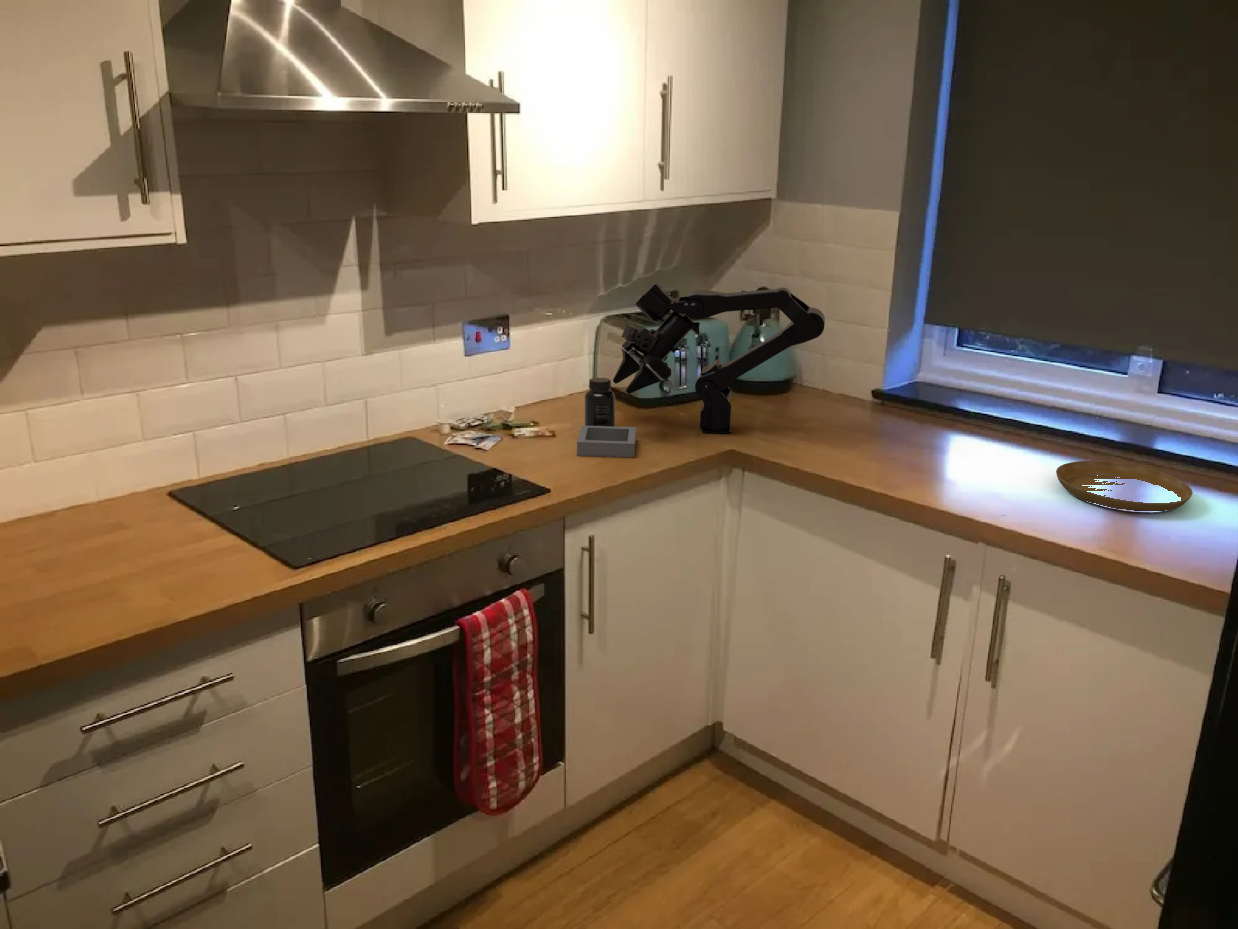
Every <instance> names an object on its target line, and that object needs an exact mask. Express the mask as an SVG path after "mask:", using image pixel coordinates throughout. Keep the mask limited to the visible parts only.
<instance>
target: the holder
mask: <svg viewBox="0 0 1238 929" xmlns="http://www.w3.org/2000/svg"><path fill="white" fill-rule="evenodd" d="M636 443H637V427H636V426H615V427H614V426H585V425H581V427H580V430H579V434H578V438H577V442H576V456H579V457H581V456H582V457H584V456H585V457H604V456H606V458H607V457H608V458H610V457H611V458H635V452H636ZM614 456H615V457H614Z"/></svg>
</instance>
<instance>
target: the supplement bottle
mask: <svg viewBox="0 0 1238 929" xmlns="http://www.w3.org/2000/svg"><path fill="white" fill-rule="evenodd" d="M588 383H589V384H588V389H589V390H588V391H586V392H585V394H584V426H614V427H616V394H615V393H614V392H613V391H612V390H611V388H612V385H611V384H612V382H611V379H610V378H609V377H608V378H607V377H593V378H590V379H589V380H588Z"/></svg>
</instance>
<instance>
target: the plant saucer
mask: <svg viewBox="0 0 1238 929" xmlns="http://www.w3.org/2000/svg"><path fill="white" fill-rule="evenodd" d="M1055 474H1056V477H1057V480H1058V481H1059V483H1060V484H1061V486H1062V487H1063V488H1064V489H1065V491H1067V492H1068V493H1069V492H1070V493H1069V494H1071V495H1072V494H1073V495H1074V496H1073V495H1072V496H1073V497H1075V496H1076V497H1075V498H1077V497H1079V498H1080V499H1079V498H1078V499H1079V500H1081V499H1083V500H1085V501H1088V502H1091V503H1096V504H1099V505H1103V506H1107V507H1111V508H1116V509H1126V510H1134V511H1165V510H1170V511H1172V510H1171V509H1173V510H1175V509H1177V508H1180V507H1181V506H1183V505H1184V504H1186V503H1187V502H1188V501H1189V500H1190V499H1191V498H1192V497H1193V494H1194V493H1193V490H1192V488H1191V487H1190V486H1189V485H1188V484H1187V483H1185V482H1184V481H1182V480H1180V479H1178V478H1176V477H1174V476H1172V475H1170V474H1167V473H1164V472H1161V471H1158V470H1155V469H1152V468H1149V467H1148V468H1147V467H1143V466H1138V465H1135V464H1134V465H1133V464H1128V463H1124V462H1123V463H1122V462H1115V461H1107V460H1106V461H1105V460H1104V461H1103V460H1079V461H1071V462H1067V463H1063V464H1062V465H1059V466H1058V467H1057V468H1056V471H1055ZM1097 475H1098V476H1097ZM1115 477H1116V478H1115ZM1117 477H1120V478H1117ZM1094 479H1137V480H1141V481H1145V482H1148V483H1151V484H1153V485H1159V486H1161V487H1163V488H1165V489H1167V490H1168V491H1173V492H1174V493H1175V494H1177V496H1178V497H1181V501H1177V502H1170V503H1143V502H1133V501H1126V500H1120V499H1114V498H1110V497H1105V496H1106V495H1104V496H1101V495H1097V494H1094V493H1091V492H1087V491H1103V490H1104V491H1105V490H1107V489H1097V490H1095V489H1096V488H1088V487H1090V486H1082V485H1113V484H1115V482H1110V483H1106V482H1108V481H1103V482H1095V481H1097V480H1094ZM1098 481H1099V480H1098ZM1116 482H1117V481H1116ZM1102 483H1104V484H1102ZM1105 483H1106V484H1105ZM1123 484H1125V483H1122V484H1118V483H1116V484H1115V485H1123ZM1091 487H1092V486H1091ZM1108 491H1109V490H1108ZM1110 491H1112V490H1110ZM1083 500H1082V501H1083ZM1085 501H1084V502H1085ZM1088 502H1087V503H1088Z"/></svg>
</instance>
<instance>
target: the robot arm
mask: <svg viewBox="0 0 1238 929" xmlns="http://www.w3.org/2000/svg"><path fill="white" fill-rule="evenodd" d="M634 305H635V307H637V309H639V310H640V311H641V312H642V313H643V314H644V315H645V316H646V317H647V318H649V319H650V320H651V321H652V322H654V321H655V322H657V321H658V322H661V321H662V320H663V319H664V318H665V317H666V316H667V314H669V312H670V314H669V316H668V317H666V319H665V320H664V321H663V322H662V323H661V324H660V326H658V328H656V329H653V328H652V329H650V330H649V329H648V328H645V327H643V326H640V327H639V328H637V327H635V326H633V325H631V324H628V323H627V324H626V325H625V327H624V330H623V332H622V334H621V336H620V337H621V338H623V339H624V340H625V341H624V342H623V344H622V345H621V347H622V349H621V354H622V360H621V363H620V365H619V366H618V369H617V371H616V373H615V375H614V376H613V378H612V383H614V384H615V385H616V384H619V383H620V382H622V381H625V379H627V378H629V377H630V376H632V375H633V374H635V373H637V374H635V376H634V378H632V380H631V382H629V384H628V386H627V387H626V389H625V392H626V393H627V394H628V395H629V394H632V393H635V392H637V391H639V390H641V389H645V388H647V387H649V386H652V385H654V384H657V383H662V382H663V381H664V382H667V380H668V379H669V378H670V377H671V376H672V368H670V367H669V365H667V364H666V362H664V360H665V359H666V358H667V357H668V355H669V354H671V353H672V354H675V353H676V352H677V349H676V347H677V346H678V345H679V344H680V343H681V341H683V339H684V338H686V337H687V335H688V334H689V333H690V332H692V333H693V334H694V335H695V336H698V335H699V334H700V331H701V330H700V323H701V322H700V321H699V320H703V319H706V318H711V317H713V316H716V315H719V314H723V313H727V312H728V313H729V312H738V311H739V312H740V311H752V310H764V309H767V310H768V309H775V308H776V309H779V311H781V312H782V313H783V315H785V316H786V318H788V319H789V321H790V322H789V323H788V324H786V326H785V327H784V328H783V329H781V330H780V331H779V332H777V333H775V334H773V335H772V336H770V337H769V338H767V339H765V340H764V341H762V342H760V343H759V344H757V345H755V346H753V347H752V348H750V349H749V350H747V351H745V352H744V353H741V355H738V356H737V357H735V358H733V359H731V360H730V361H727V362H724V363H721V361H720V359H719V358H718V359H716V360H715V361H714V362H712V363H711V364H710V365H708V366H703V369H702V370H701V372H700V374H699V375H698V378H697V380H696V382H695V384H694V387H695V388H694V391H695V392H696V395H697V396H698V397H699V398H701V399H702V407H700V408H699V428H700V429H701V432H702V433H706V434H731V433H732V430H731V415H732V402H731V401H730V398H731V397H732V395H733V390H732V389H731V388H730V387H729V386H730V385H731V384H732V383H733V382H734V381H735V380H736V379H738V378H739V377H741V376H743V375H745V374H746V373H748V372H749V371H751V370H753V369H755V368H756V367H758V366H760V365H761V364H763V363H765V362H766V361H768V360H770V359H772V358H773V357H775V356H777V355H778V354H779V353H782V352H784V351H785V350H787V349H788V348H790V347H793V346H797V345H802V344H803V343H807V342H809V341H812V340H814V339H817V338H819V337H820V336H821V335H822V334H823V332H824V329H825V325H826V318H825V315H824V313H823V312H822V310H820V309H818V308H815V307H810V306H809V304H807V303H806V302H804V301H803V300H801V299H800V298H799V297H797V296H795V294H793V293H792V292H791V290H789V289H788V288H786V287H779V288H774V289H771V288H770V289H762V290H761V289H760V290H750V291H749V290H748V291H738V292H736V291H735V292H734V291H733V292H721V291H720V292H719V291H716V290H706V289H695V290H693V291H691V292H690V293H689V294H688V295H686V296H685V295H684V296H679V297H674V298H673V297H671V296H670V295H669V294H668V293H667V292H666V291H665V290H664V289H663V287H662V286H661V285H660V284H659V283H656V282H655V284H653V285H652V286H651V287H650V289H649V290H647V291H646V292H645V293H644V294H643V295H641V297H640V298H639V299H638V300H637V301H636V303H635V304H634ZM682 314H683V315H682ZM693 320H696V322H694V321H693ZM698 321H699V322H698Z"/></svg>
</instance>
